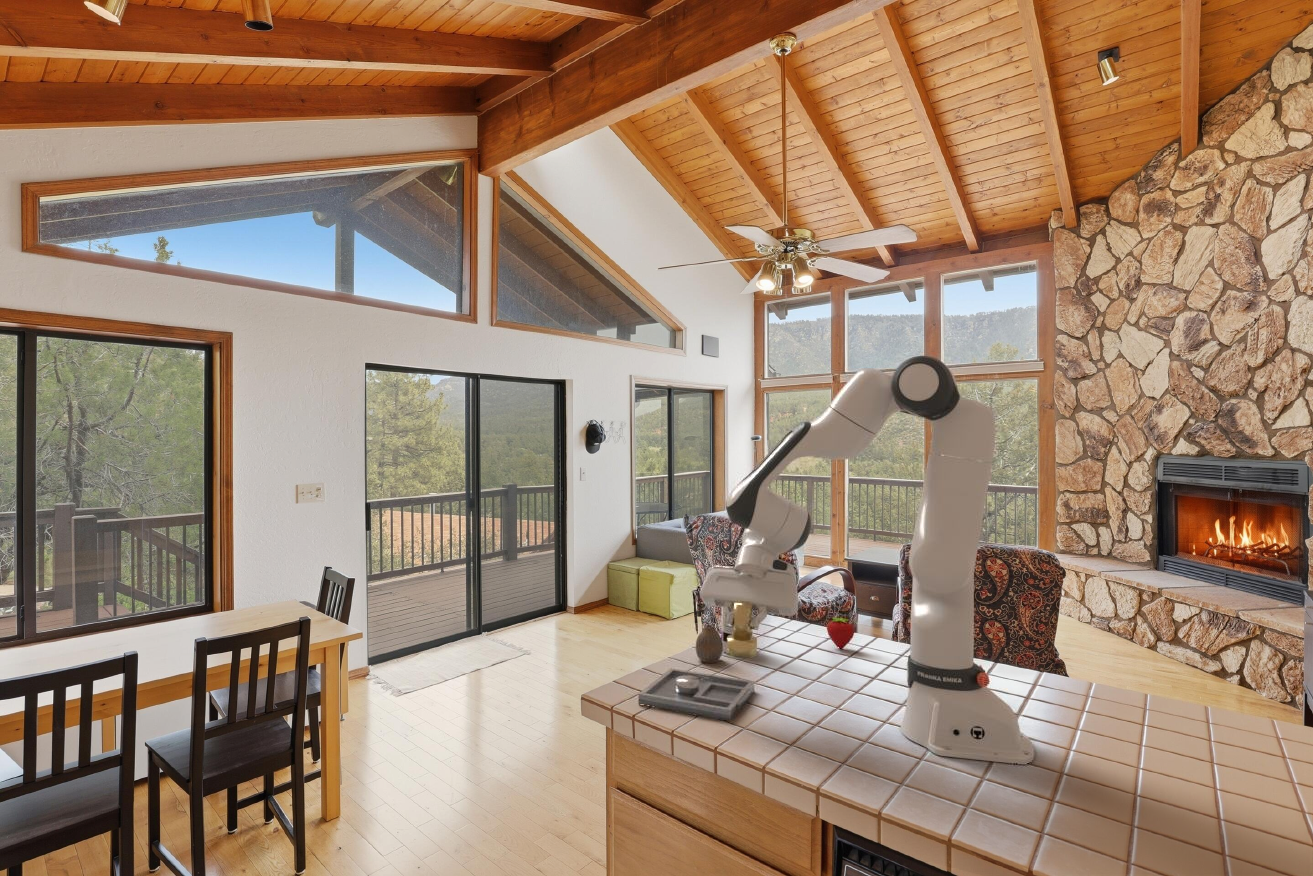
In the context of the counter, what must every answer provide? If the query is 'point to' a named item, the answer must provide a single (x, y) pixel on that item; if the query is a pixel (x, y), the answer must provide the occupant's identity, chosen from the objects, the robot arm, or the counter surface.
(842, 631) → the strawberry
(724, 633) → the supplement can
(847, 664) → the counter surface
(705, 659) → the vase
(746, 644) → the gold peg with base
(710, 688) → the tray
